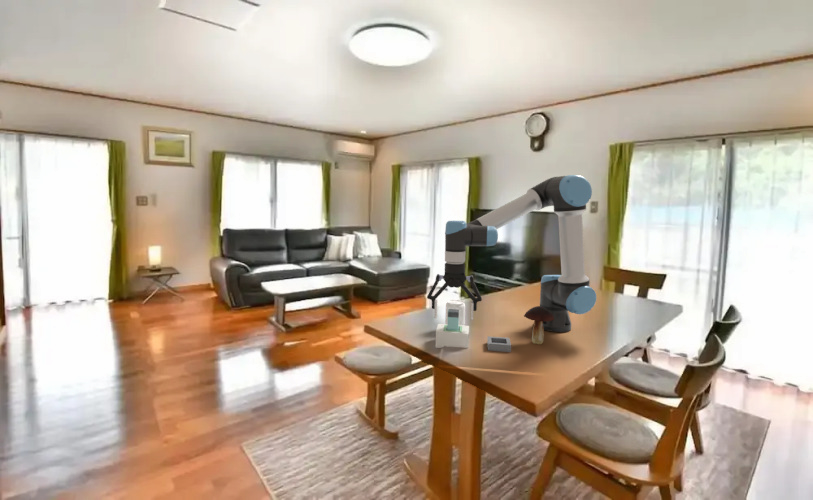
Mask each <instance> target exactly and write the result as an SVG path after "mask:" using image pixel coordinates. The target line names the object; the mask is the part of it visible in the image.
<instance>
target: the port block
mask: <svg viewBox="0 0 813 500" xmlns="http://www.w3.org/2000/svg"><path fill="white" fill-rule="evenodd" d="M447 325H448V324H445V323H438V324H437V327H436V330H435V349H436V348H438V349H439V348H440V349H444V347H448V348H465V349H469V342H470V341H469V339H470V325H465V326H464V325H459V329H458V331H455V330H447Z"/></svg>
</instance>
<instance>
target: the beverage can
mask: <svg viewBox="0 0 813 500" xmlns="http://www.w3.org/2000/svg"><path fill="white" fill-rule="evenodd" d="M448 309H457V310H459V325H464V326H466V325H465V324H466V323H465V322H466V319H465V318H466V304H465V301H464V300H459V299H449V300H447V301H446V304H445V322H444V324H448Z"/></svg>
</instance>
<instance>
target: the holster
mask: <svg viewBox="0 0 813 500" xmlns="http://www.w3.org/2000/svg"><path fill="white" fill-rule="evenodd" d="M486 343H487V351H489V352H492V351H493V352H504V353H512V352H511V351H512V343H511V339H510V337H501V336H491V335H490V336H489V335H487V341H486Z"/></svg>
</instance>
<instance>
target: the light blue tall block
mask: <svg viewBox="0 0 813 500" xmlns="http://www.w3.org/2000/svg"><path fill="white" fill-rule="evenodd" d="M458 329H459V310H457V309H448V325H447V330H455V331H458Z"/></svg>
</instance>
